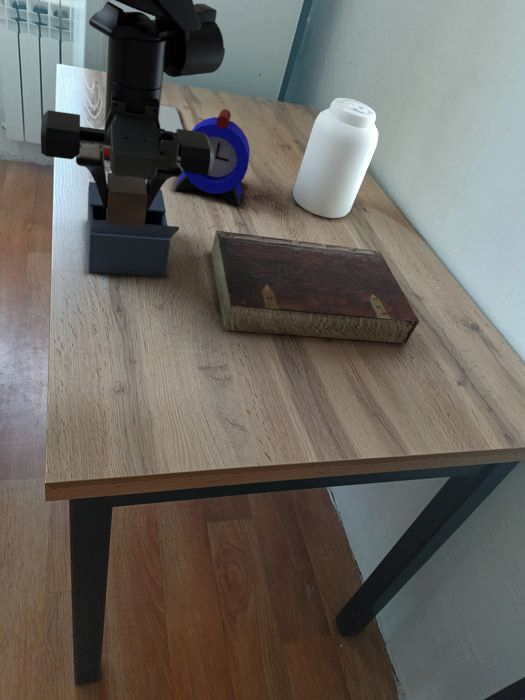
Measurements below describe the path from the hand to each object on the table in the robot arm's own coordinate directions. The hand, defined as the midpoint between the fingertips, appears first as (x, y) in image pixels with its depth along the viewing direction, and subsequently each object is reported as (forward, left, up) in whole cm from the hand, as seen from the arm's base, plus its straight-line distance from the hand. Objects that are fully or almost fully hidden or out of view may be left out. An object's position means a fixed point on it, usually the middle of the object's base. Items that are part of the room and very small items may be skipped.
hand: (125, 208), depth 67 cm
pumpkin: (+1, +42, -14) cm, 44 cm away
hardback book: (+29, 0, -14) cm, 32 cm away
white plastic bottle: (+42, +31, -14) cm, 54 cm away
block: (0, 0, -1) cm, 1 cm away
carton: (+1, +10, -13) cm, 17 cm away
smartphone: (+13, +60, -13) cm, 63 cm away
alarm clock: (+19, +33, -14) cm, 41 cm away
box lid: (+1, +2, -4) cm, 4 cm away
